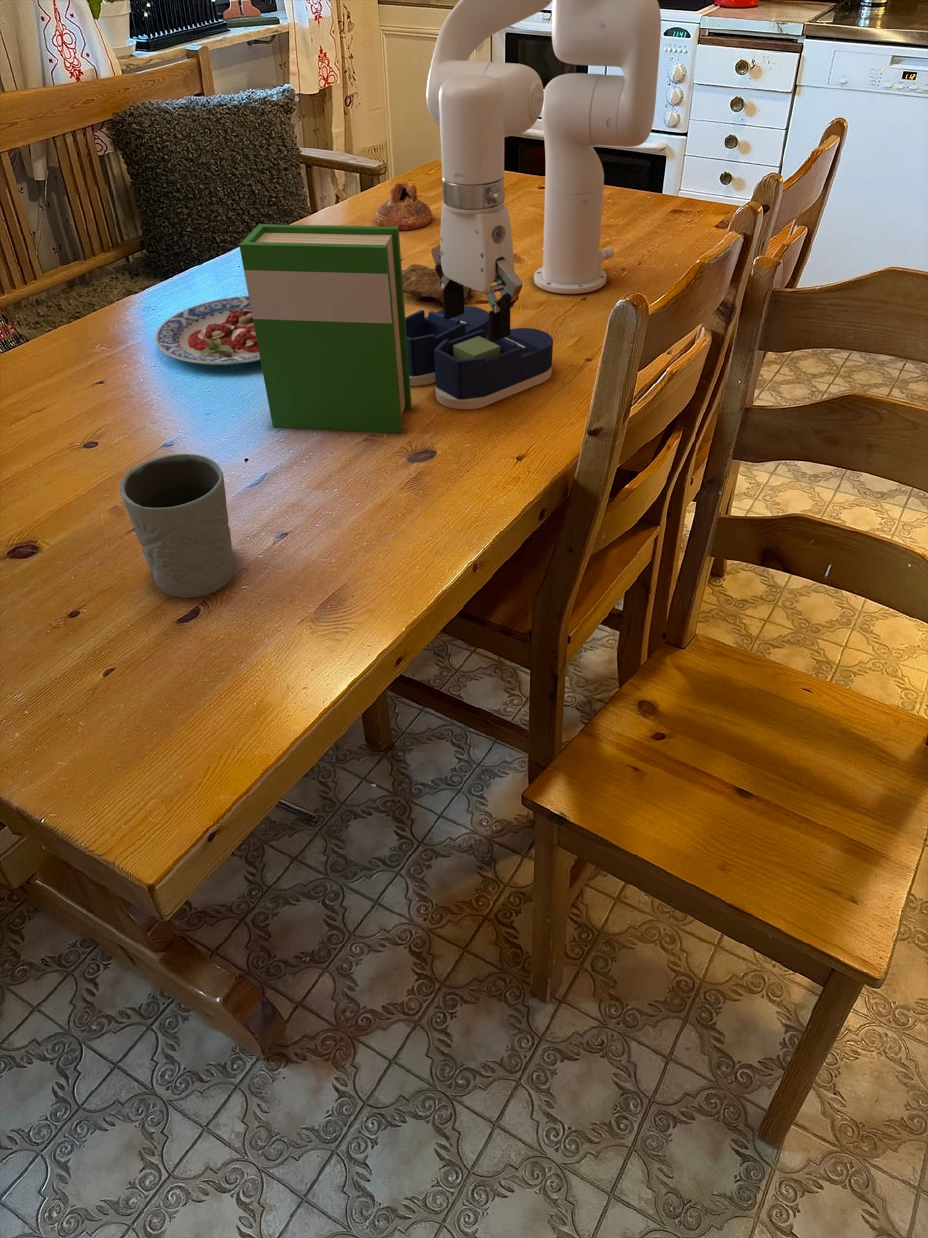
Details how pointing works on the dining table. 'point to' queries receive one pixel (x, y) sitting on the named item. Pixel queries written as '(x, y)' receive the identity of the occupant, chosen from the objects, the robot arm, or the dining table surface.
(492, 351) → the green block
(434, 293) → the decorative rock
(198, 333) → the ceramic plate
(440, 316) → the sneaker
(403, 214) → the bell
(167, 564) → the grey embossed cup
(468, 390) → the sneaker
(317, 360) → the hardback book
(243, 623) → the dining table surface
